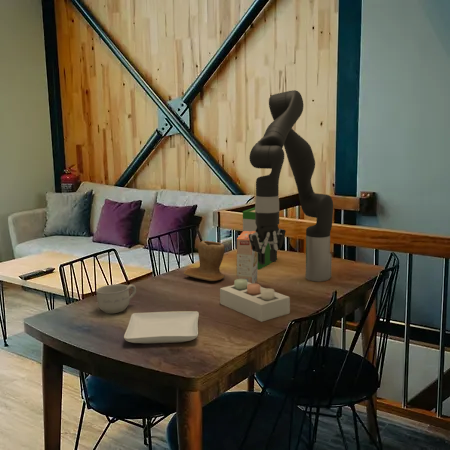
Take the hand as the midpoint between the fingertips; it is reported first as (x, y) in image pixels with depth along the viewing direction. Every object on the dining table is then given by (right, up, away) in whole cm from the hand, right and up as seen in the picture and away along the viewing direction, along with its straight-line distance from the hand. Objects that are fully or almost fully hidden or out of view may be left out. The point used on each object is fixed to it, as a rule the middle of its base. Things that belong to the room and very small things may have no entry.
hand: (267, 262), depth 183 cm
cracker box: (-5, -12, +29) cm, 32 cm away
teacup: (-49, -17, +10) cm, 53 cm away
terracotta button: (-4, -11, +8) cm, 14 cm away
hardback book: (+2, -5, +64) cm, 64 cm away
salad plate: (-32, -21, -10) cm, 40 cm away
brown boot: (-21, -9, +44) cm, 50 cm away
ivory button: (0, -12, +2) cm, 12 cm away
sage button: (-8, -10, +13) cm, 18 cm away
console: (-4, -16, +9) cm, 19 cm away
